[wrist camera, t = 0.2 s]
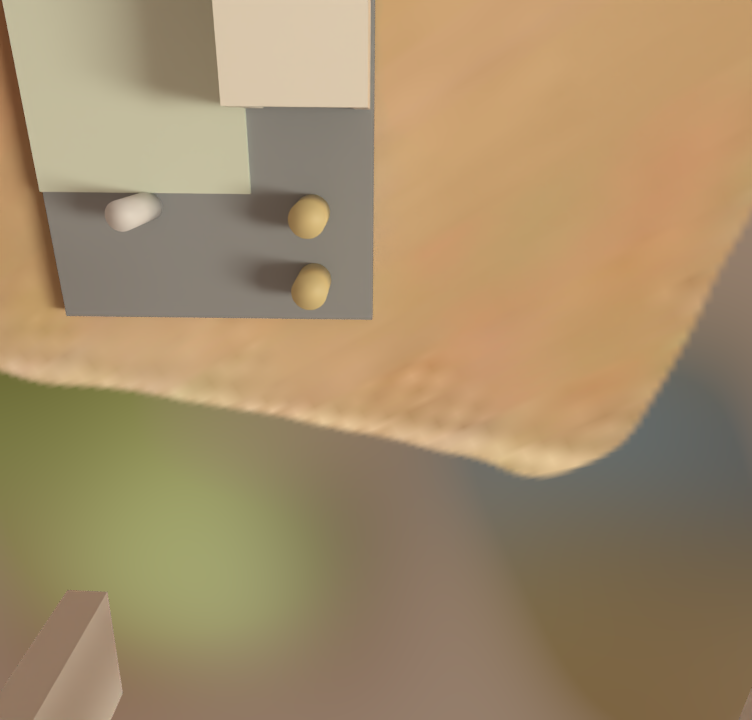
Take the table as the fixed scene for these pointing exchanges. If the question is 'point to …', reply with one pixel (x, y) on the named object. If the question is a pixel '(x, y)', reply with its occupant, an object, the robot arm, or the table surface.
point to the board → (187, 171)
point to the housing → (293, 53)
